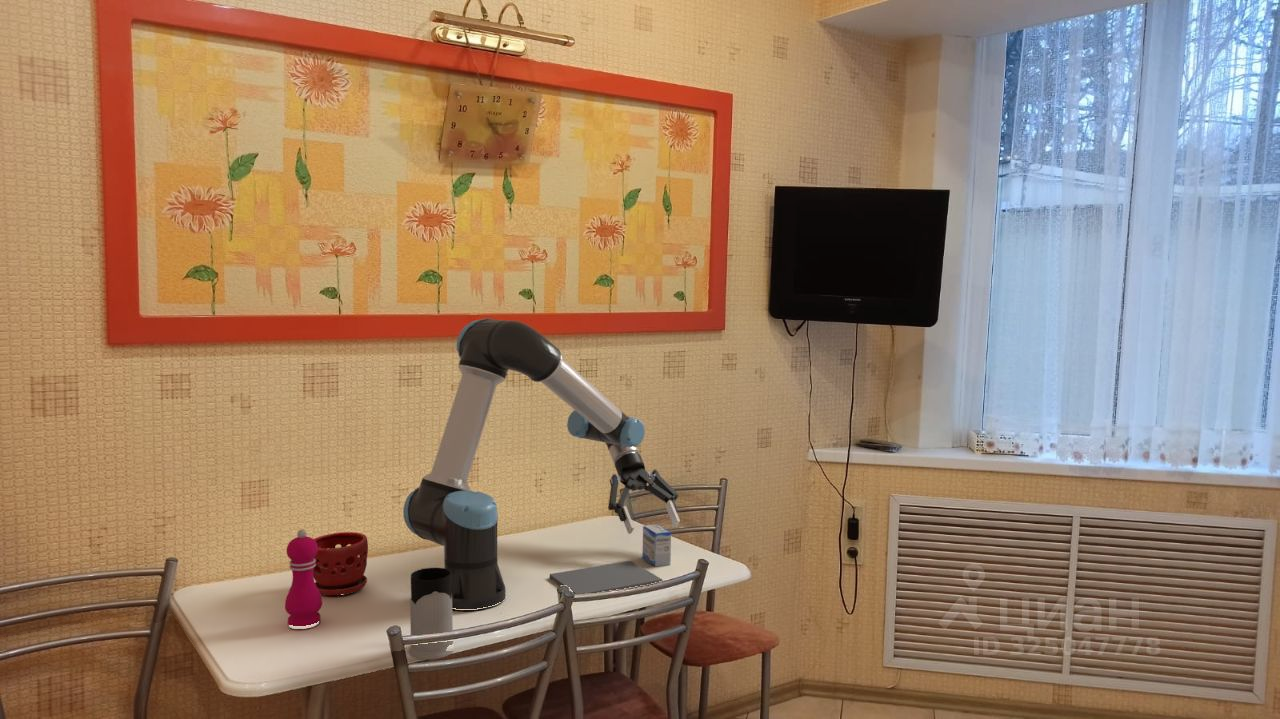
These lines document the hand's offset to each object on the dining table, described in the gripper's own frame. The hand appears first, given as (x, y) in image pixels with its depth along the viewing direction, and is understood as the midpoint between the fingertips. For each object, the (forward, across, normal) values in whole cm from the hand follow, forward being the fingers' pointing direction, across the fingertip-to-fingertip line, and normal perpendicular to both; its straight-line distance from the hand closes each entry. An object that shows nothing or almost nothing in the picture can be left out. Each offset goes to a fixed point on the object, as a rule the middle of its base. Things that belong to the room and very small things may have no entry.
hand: (654, 527), depth 226 cm
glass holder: (+24, +66, +13) cm, 72 cm away
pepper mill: (+9, +86, -3) cm, 87 cm away
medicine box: (+8, +1, -4) cm, 9 cm away
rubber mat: (+12, +19, +1) cm, 23 cm away
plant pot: (-4, +76, -15) cm, 78 cm away
